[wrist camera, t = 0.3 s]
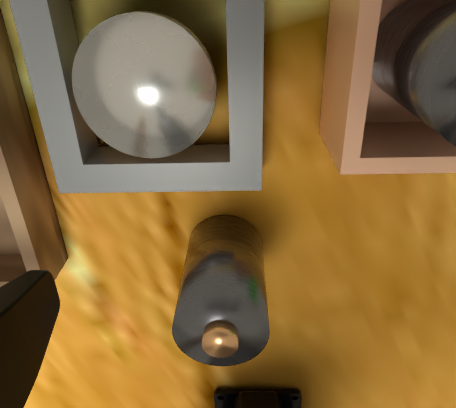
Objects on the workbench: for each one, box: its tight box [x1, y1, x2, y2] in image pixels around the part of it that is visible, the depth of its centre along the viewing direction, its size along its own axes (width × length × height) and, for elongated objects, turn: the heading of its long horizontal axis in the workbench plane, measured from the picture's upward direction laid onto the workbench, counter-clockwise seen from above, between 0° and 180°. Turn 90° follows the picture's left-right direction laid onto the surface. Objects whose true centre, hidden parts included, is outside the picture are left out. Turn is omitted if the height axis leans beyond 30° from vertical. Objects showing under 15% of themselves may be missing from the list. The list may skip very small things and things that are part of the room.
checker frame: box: [9, 0, 264, 193], centre depth 18 cm, size 10×10×2 cm
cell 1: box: [172, 215, 269, 366], centre depth 21 cm, size 4×4×8 cm
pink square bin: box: [319, 0, 456, 175], centre depth 16 cm, size 8×8×5 cm
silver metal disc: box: [72, 11, 217, 158], centre depth 17 cm, size 6×6×1 cm
